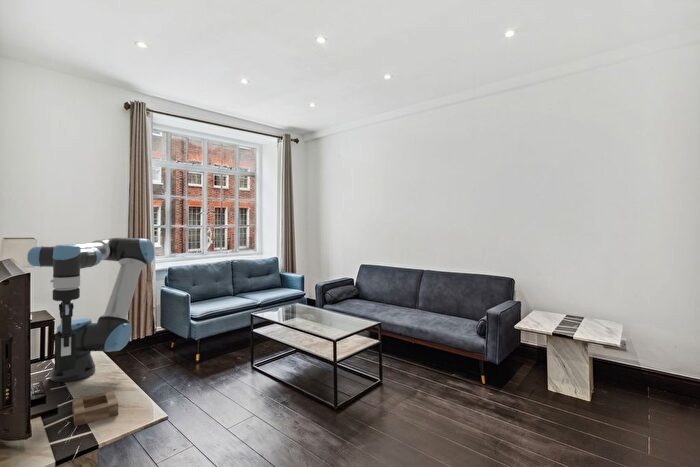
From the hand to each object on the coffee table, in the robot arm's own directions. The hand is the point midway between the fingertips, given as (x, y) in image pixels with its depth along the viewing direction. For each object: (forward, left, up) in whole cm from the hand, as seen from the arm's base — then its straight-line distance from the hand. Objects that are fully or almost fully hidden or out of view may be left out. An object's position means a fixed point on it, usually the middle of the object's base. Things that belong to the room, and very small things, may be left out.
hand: (65, 352), depth 125 cm
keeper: (+11, +8, -20) cm, 24 cm away
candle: (0, 0, -6) cm, 6 cm away
